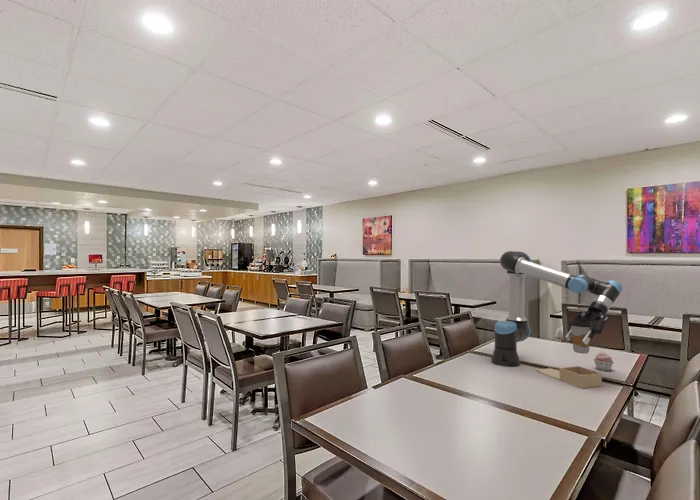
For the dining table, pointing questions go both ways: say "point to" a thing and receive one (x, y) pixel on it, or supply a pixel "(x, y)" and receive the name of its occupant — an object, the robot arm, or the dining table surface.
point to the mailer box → (575, 376)
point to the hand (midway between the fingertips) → (575, 340)
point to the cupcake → (603, 361)
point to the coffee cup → (580, 335)
